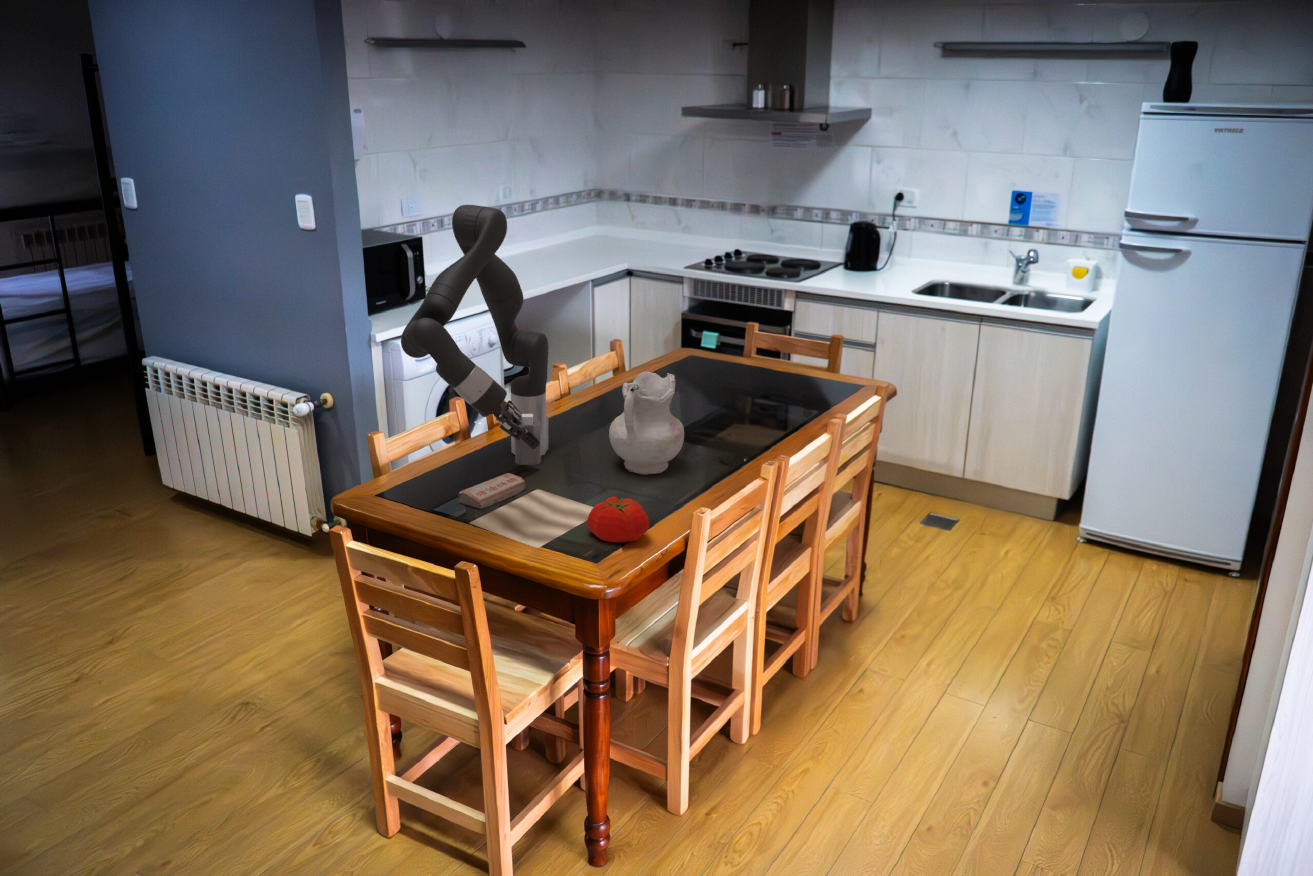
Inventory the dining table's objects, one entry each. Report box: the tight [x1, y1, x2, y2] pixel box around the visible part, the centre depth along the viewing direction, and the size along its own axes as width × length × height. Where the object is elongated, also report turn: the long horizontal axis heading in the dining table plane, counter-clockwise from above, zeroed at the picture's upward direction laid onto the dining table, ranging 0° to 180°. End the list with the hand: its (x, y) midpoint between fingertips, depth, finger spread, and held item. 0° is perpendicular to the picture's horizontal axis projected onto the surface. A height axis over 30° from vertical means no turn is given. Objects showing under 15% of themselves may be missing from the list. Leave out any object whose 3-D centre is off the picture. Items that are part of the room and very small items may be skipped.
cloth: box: [468, 488, 595, 549], centre depth 230 cm, size 24×20×1 cm
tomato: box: [586, 496, 650, 544], centre depth 223 cm, size 14×13×9 cm
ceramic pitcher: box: [608, 370, 685, 476], centre depth 258 cm, size 22×20×25 cm
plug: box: [514, 414, 542, 466], centre depth 221 cm, size 3×6×11 cm, turn 96°
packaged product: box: [458, 472, 527, 510], centre depth 239 cm, size 18×5×10 cm
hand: (536, 442), depth 222 cm, fingers closed on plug, 3 cm apart
